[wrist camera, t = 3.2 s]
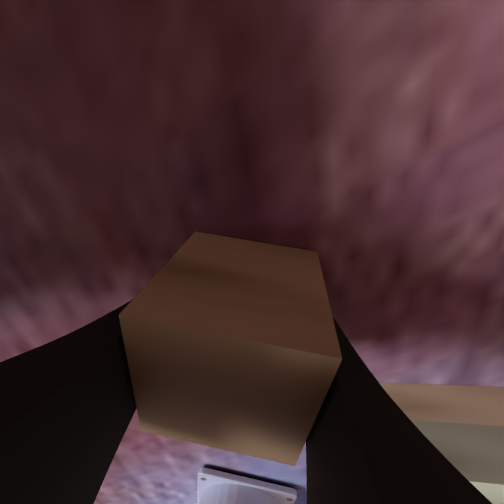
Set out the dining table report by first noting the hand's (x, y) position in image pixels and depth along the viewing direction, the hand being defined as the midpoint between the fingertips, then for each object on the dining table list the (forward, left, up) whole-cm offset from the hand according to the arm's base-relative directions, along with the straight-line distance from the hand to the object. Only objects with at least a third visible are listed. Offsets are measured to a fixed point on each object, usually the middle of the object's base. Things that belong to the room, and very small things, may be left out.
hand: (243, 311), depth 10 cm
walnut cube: (0, 0, -1) cm, 1 cm away
